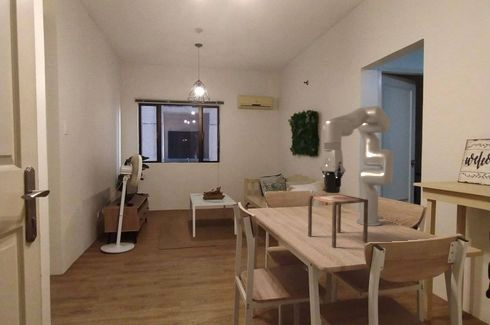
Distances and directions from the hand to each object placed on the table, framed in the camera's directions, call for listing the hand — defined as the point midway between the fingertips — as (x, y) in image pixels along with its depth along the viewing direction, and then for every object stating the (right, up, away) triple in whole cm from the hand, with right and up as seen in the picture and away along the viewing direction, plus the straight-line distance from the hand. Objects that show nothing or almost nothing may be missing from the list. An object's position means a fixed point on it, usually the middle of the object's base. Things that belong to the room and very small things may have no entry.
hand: (332, 185), depth 136 cm
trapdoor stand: (+3, -25, +2) cm, 26 cm away
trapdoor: (+2, -7, +1) cm, 7 cm away
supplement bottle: (0, -3, 0) cm, 3 cm away
